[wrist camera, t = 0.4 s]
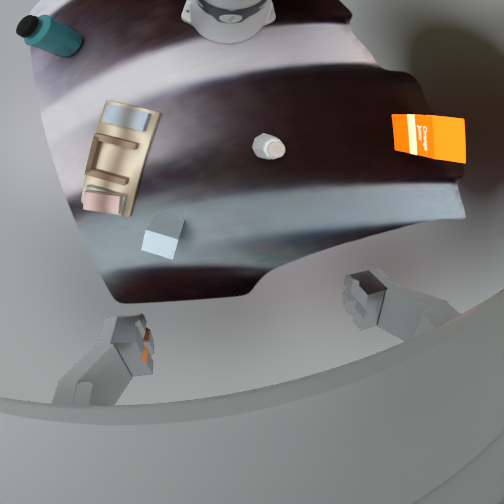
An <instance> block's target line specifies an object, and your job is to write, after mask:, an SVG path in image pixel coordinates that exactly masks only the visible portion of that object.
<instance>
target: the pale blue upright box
mask: <svg viewBox="0 0 504 504" xmlns="http://www.w3.org/2000/svg"><path fill="white" fill-rule="evenodd" d="M183 224H184V220H183V219H180V218H177V217H173V216H170V215H167V214H163V213H160V212H157V214H156V215H155V217H154V218H153V220H152V221H151V223H150V224H149V226H148V227H147V229H146V232H145V236H144V240H143V245H142V249H141V250H143V251H146V252H150V253H153V254H156V255H159V256H163V257H166V258H170V259H173V257H174V254H175V250H176V247H177V244H178V240H179V237H180V234H181V230H182V227H183Z"/></svg>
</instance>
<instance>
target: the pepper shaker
mask: <svg viewBox="0 0 504 504" xmlns="http://www.w3.org/2000/svg"><path fill="white" fill-rule="evenodd" d="M252 149H253V150H254V152H255V154H256V156H257V157H260V158H264V159H276V158H279V157H281V156H283V155H284V153H285V146H284V144H283V143H282V142H281V141H280V140H279V139H278V138H276V137H275V136H272V135H269V134H265V133H263V134H261V135H259V136H258V137H256V138H255V139H254V143H253V146H252Z"/></svg>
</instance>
